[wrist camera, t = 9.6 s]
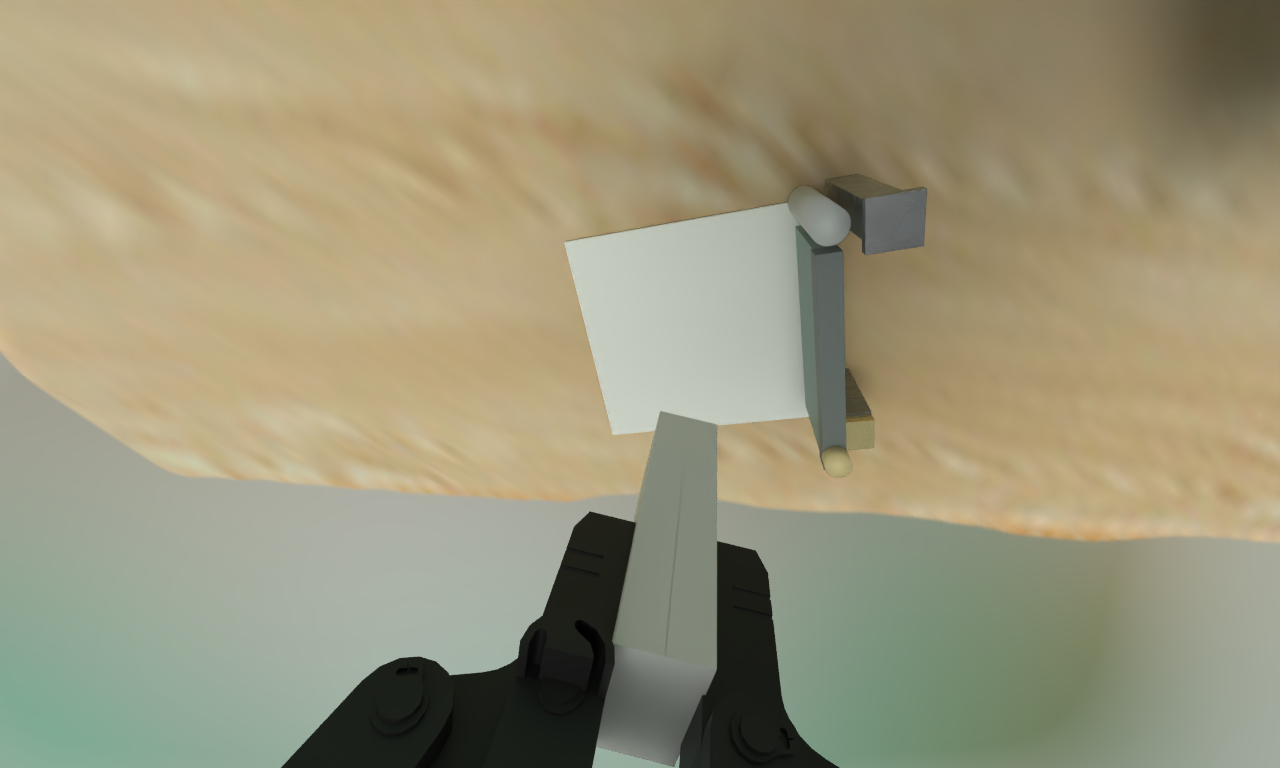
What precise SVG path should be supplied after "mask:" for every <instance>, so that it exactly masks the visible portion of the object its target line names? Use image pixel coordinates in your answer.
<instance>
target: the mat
mask: <svg viewBox="0 0 1280 768" xmlns="http://www.w3.org/2000/svg"><path fill="white" fill-rule="evenodd" d="M795 226H801V224H800V223H799V222H798V221H797V219H796V218H795V217H794V216H793V215H792V213H791V212H790V211H789V208H788V202H786V203H780V204H775V205H769V206H763V207H758V208H752V209H746V210H741V211H735V212H729V213H724V214H718V215H712V216H707V217H701V218H695V219H690V220H684V221H678V222H673V223H667V224H661V225H656V226H650V227H644V228H639V229H633V230H627V231H622V232H616V233H610V234H605V235H599V236H593V237H588V238H582V239H576V240H571V241H566V242H564V243H565V247H566V251H567V255H568V259H569V263H570V267H571V271H572V275H573V279H574V283H575V287H576V291H577V295H578V299H579V303H580V307H581V311H582V315H583V319H584V323H585V327H586V331H587V335H588V339H589V343H590V346H591V350H592V354H593V358H594V362H595V366H596V370H597V374H598V378H599V382H600V386H601V390H602V394H603V398H604V402H605V406H606V410H607V414H608V418H609V422H610V426H611V430H612V434H613V435H617V434H628V433H639V432H650V431H655V429H656V425H657V421H658V417H659V413H660V411H663V412H667V413H671V414H676V415H680V416H684V417H688V418H692V419H697V420H701V421H705V422H709V423H713V424H717V425H727V424H738V423H749V422H760V421H771V420H782V419H793V418H804V417H809V415H808V412H807V408H806V405H805V388H804V370H803V352H802V335H801V317H800V300H799V282H798V265H797V247H796V230H795Z"/></svg>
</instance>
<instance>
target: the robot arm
mask: <svg viewBox="0 0 1280 768" xmlns="http://www.w3.org/2000/svg"><path fill="white" fill-rule="evenodd" d="M596 747H600V748H603V749H607V750H611V751H615V752H619V753H623V754H627V755H631V756H634V757H638V758H642V759H646V760H650V761H654V762H658V763H661V764H665V765H669V766H673V767H674V766H675V763H676V761H677V759H678V757H679V754H680V765H679V768H839V767H838V766H836V765H834V764H833V763H831V762H830V761H828V760H826V759H825V758H824V757H822V756H821V755H820V754H818V753H817V752H815V751H814V750H813V749H812V748H811V747H810V746H809V745H808V744H807V743H806V742H805V741H804V740H803V739H802V738H801V737H800V735H799V734H798V732H797V731H796V728H795V727H794V725H793V724H792V722H791V721H790V719H789V718H788V715H787V713H786V711H785V708H784V704H783V700H782V696H781V687H780V678H779V669H778V660H777V651H776V643H775V634H774V624H773V620H772V606H771V600H770V590H769V579H768V572H767V570H766V569H765V567H764V565H763V563H762V561H761V559H760V558H759V556H758V554H757V552H756V551H755V550H751V549H747V548H743V547H739V546H735V545H730V544H726V543H722V542H718V541H717V424H713V423H709V422H705V421H701V420H697V419H692V418H688V417H684V416H680V415H676V414H671V413H667V412H663V411H660V413H659V417H658V421H657V425H656V429H655V433H654V437H653V441H652V445H651V449H650V453H649V457H648V461H647V465H646V469H645V473H644V477H643V481H642V485H641V489H640V494H639V498H638V503H637V508H636V513H635V517H634V522H630V521H626V520H622V519H618V518H614V517H610V516H606V515H602V514H598V513H594V512H589V513H588V514H587V515H586V516H585V517H584V518H583V519H582V520H581V521H580V522H579V523H578V524H576V525H575V527H574V529H573V532H572V534H571V537H570V540H569V543H568V546H567V549H566V551H565V554H564V557H563V560H562V563H561V566H560V569H559V571H558V574H557V577H556V580H555V582H554V585H553V588H552V591H551V594H550V596H549V599H548V602H547V605H546V607H545V610H544V613H543V616H542V617H540V618H539V619H538V620H536V621H535V622H533V623H532V624H531V625H530V626H529V628H528V629H527V631H526V632H525V634H524V636H523V637H522V639H521V640H520V647H519V655H518V658H517V659H516V660H515V661H513V662H512V663H510V664H508V665H506V666H504V667H502V668H499V669H497V670H492V671H487V672H482V673H471V674H460V675H449V673H448V672H447V671H446V670H445V669H444V668H442V667H441V666H440V665H439V664H438V663H437V662H435V661H432V660H429V659H426V658H422V657H408V658H399V659H397V660H394V661H392V662H390V663H387V664H385V665H382V666H380V667H379V668H378V669H376V670H375V671H374V672H373V673H371V674H370V675H369V676H368V677H366V678H365V679H364V680H363V681H362V682H361V683H360V684H359V685H358V686H357V687H356V688H355V689H354V690H353V691H352V692H351V693H350V694H349V695H348V696H347V698H346V699H345V700H344V701H343V702H342V703H341V704H340V705H339V706H338V707H337V708H336V710H334V712H333V713H332V714H331V715H330V716H329V717H328V718H327V719H326V720H325V721H324V722H323V723H322V724H321V725H320V727H319V728H318V729H317V730H316V731H315V732H314V733H313V734H312V735H311V736H310V737H309V738H308V739H307V741H306V742H305V743H304V744H303V745H302V746H301V747H300V748H299V749H298V750H297V751H296V752H295V753H294V754H293V755H292V757H291V758H290V759H289V760H288V761H287V762H286V763H285V764H284V765H283V766H282V767H281V768H592V765H593V759H594V754H595V749H596Z"/></svg>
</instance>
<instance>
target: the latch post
mask: <svg viewBox="0 0 1280 768" xmlns="http://www.w3.org/2000/svg"><path fill="white" fill-rule="evenodd" d="M845 396H846V450H857V449H870V448H874V418H873V416H872V415H871V410H870V408H869V406H868V404H867V403H866V401H865V399H864V397H863V395H862V393H861V391H860V389H859V388H858V386H857V384H856V382H855V380H854V378H853V376H852V374H851V373H850V371H849V369H845Z"/></svg>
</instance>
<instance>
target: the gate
mask: <svg viewBox="0 0 1280 768" xmlns="http://www.w3.org/2000/svg"><path fill="white" fill-rule="evenodd" d="M788 208H789V211H790V212H791V213H792V215H793V216H794V217H795V218H796V219H797V221H798V222H799V223H800V224H801V226H795V230H796V247H797V265H798V282H799V300H800V317H801V335H802V352H803V370H804V388H805V405H806V408H807V412H808V415H809V418H810V421H811V424H812V428H813V431H814V434H815V437H816V440H817V444H818V447H819V450H820V458H821V462H822V465H823V468H824V470H826V472H827V474H828V475H829V476H831V477H834V478H842V477H845V476H847V475H848V474H850V472H851V471H852V468H853V465H852V462H851V460H850V457H849V455H848V452H847V450H846V396H845V340H844V283H843V251H842V250H841V249H840V248H839V247H838V246H837V245H836V244H838V243H840V242H841V241H842V240H843V239H844V238H845V237H846V236H847V234H848V233H849V230H850V227H851V219H850V216H849V214H848V212H847V211H846V210H845V209H843V208H842V207H840V206H839V205H837V204H836V203H834V202H833V201H832V200H830V199H829V198H827V197H826V196H824V195H823V194H821V193H820V192H818V191H817V190H815V189H814V188H812V187H810V186H800V187H798V188H796V189H795V190H794V191H793V192H792V193H791V194H790V196H789V199H788Z"/></svg>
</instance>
